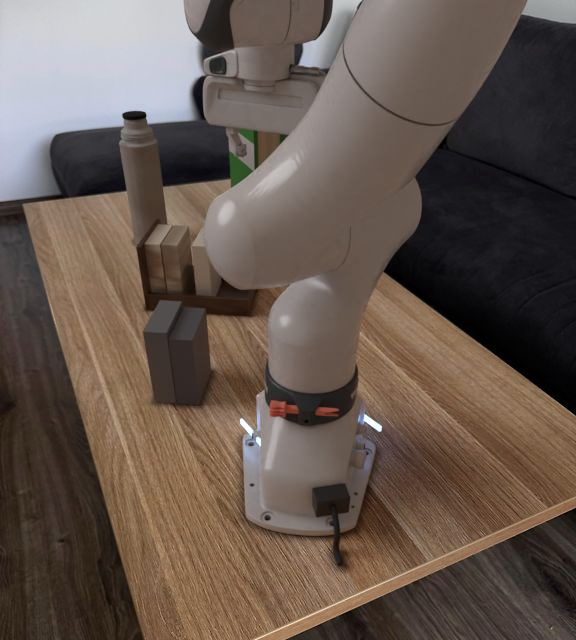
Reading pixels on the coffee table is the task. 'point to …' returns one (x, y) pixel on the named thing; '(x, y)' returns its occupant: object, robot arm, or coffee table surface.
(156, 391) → the grey books
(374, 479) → the coffee table surface
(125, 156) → the thermos bottle
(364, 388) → the coffee table surface
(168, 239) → the dark wooden book rack
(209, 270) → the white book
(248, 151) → the hardback book
